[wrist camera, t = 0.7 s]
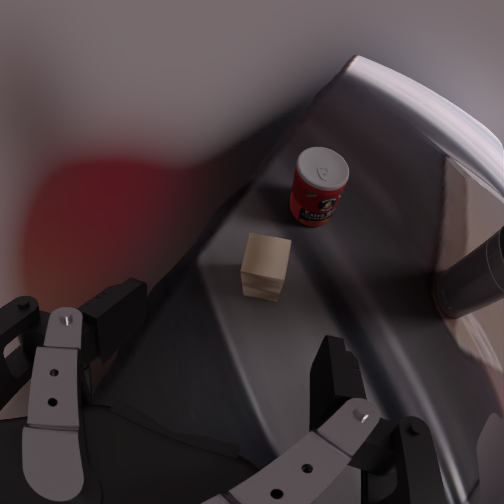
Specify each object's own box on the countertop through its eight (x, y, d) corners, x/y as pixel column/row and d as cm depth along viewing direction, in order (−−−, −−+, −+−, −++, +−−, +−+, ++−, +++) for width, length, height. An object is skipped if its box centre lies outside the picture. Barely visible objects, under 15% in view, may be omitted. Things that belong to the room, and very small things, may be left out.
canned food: (296, 232, 44) (308, 191, 34) (282, 193, 47) (289, 149, 37) (338, 224, 45) (358, 183, 35) (322, 187, 48) (336, 144, 38)
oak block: (283, 270, 41) (291, 240, 32) (277, 302, 39) (284, 279, 30) (250, 264, 42) (249, 232, 33) (243, 295, 40) (240, 271, 31)
